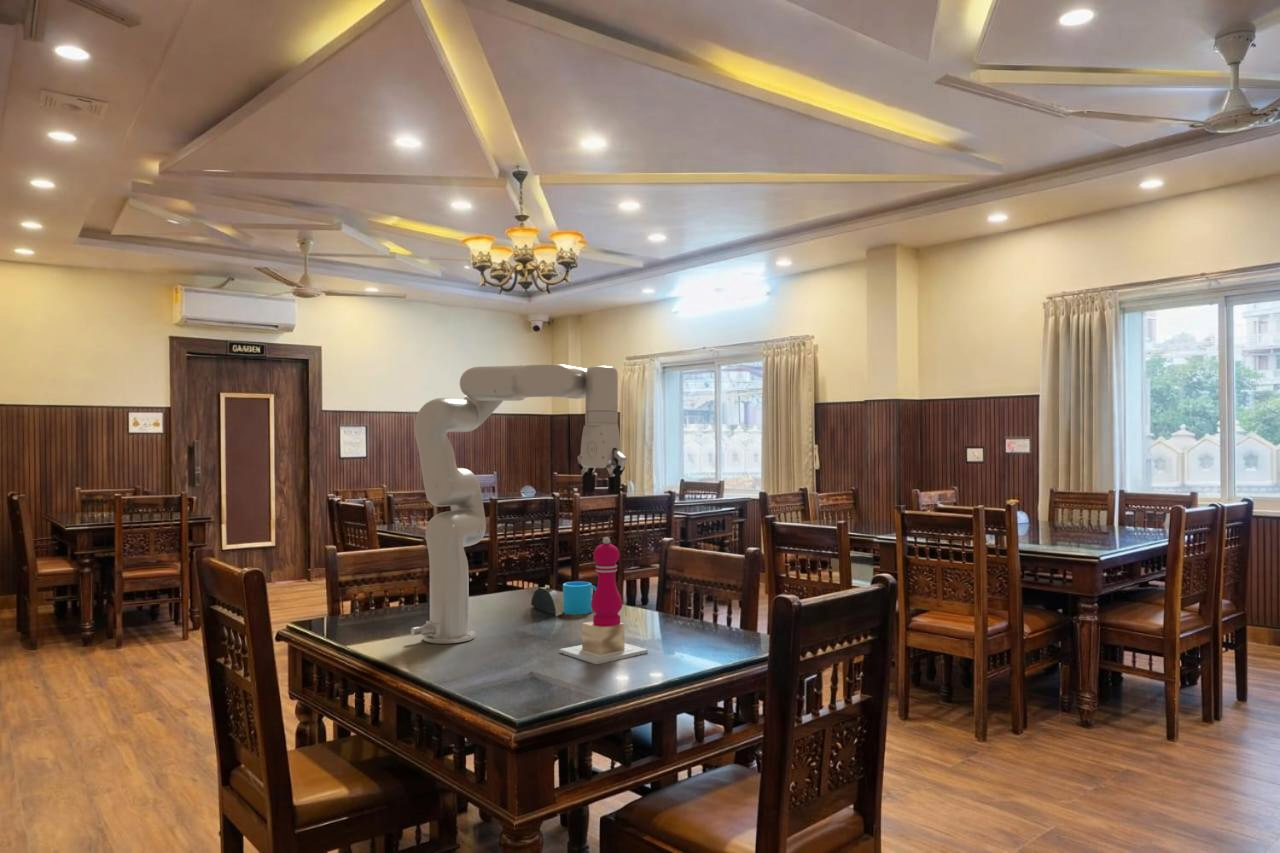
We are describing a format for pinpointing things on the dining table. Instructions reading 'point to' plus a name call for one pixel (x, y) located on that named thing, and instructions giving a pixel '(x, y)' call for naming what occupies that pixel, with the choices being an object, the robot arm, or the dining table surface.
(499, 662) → the dining table surface
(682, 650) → the dining table surface
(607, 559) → the pepper mill
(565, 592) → the mug
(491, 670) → the dining table surface
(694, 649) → the dining table surface
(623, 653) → the white flat square
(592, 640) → the maple block
